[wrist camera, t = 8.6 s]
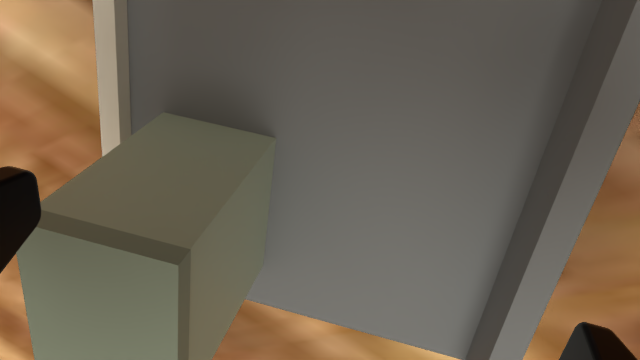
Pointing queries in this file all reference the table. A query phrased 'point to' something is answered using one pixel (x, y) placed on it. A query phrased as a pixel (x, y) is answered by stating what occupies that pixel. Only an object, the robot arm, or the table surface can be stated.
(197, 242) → the tea tin
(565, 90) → the display board
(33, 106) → the table surface
